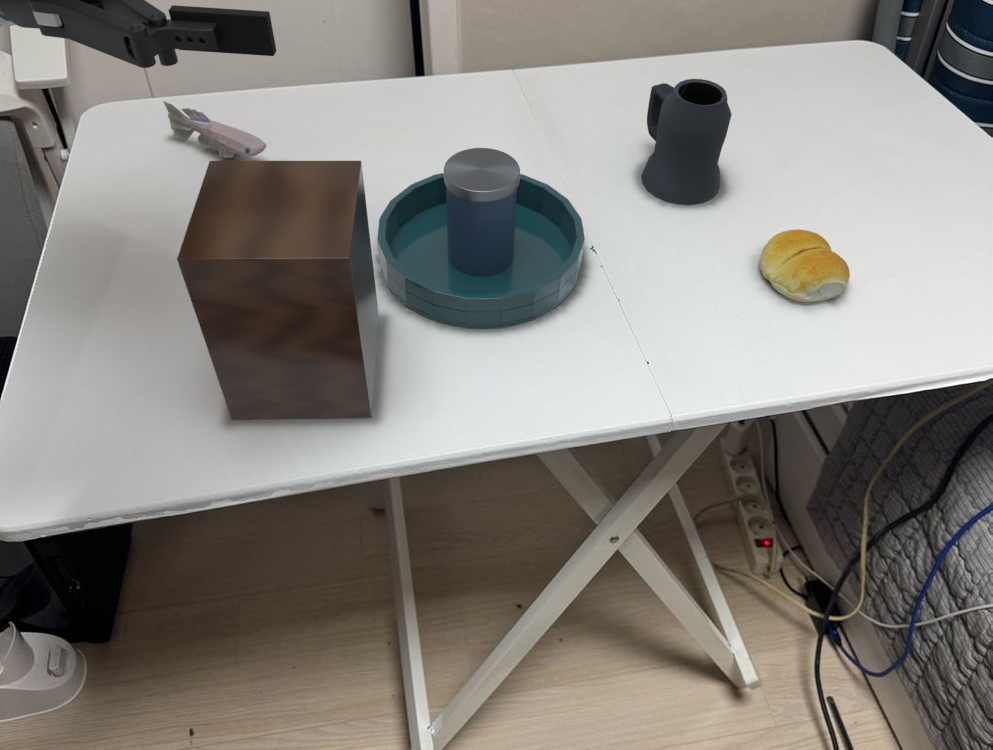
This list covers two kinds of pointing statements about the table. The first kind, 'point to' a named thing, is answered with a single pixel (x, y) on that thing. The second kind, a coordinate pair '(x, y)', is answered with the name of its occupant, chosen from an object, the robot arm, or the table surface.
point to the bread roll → (803, 266)
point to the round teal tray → (480, 299)
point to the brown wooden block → (285, 287)
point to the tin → (481, 210)
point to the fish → (213, 133)
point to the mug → (686, 140)
